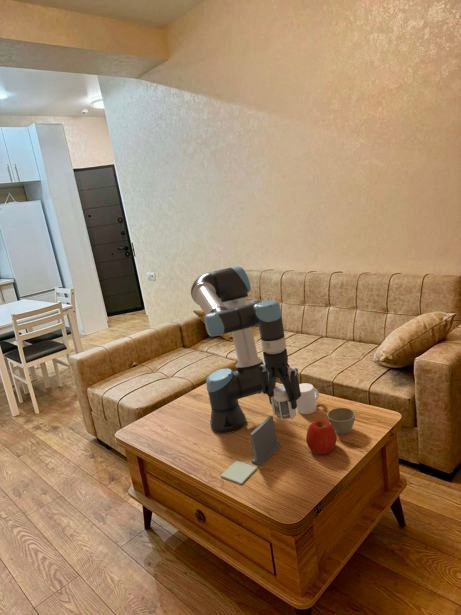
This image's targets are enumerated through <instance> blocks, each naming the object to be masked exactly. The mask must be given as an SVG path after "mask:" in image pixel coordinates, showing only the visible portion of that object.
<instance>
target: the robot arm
mask: <svg viewBox="0 0 461 615" xmlns="http://www.w3.org/2000/svg"><path fill="white" fill-rule="evenodd" d="M190 288H191V289H190V296H191V298H192V300H193V302H194V303H195V304H196V305H198V306H199V307H200V309H201V310H202V312H203V313H204V314H205V316H204V318H203V319H204V325H205V329H206V333H207V334H208V335H209V337H216V336H222V335H226V334H230V333H231V336H232V340H233V345H234V348H235V349H234V350H235V352H236V359H237V363H236V364H235V369H236V370H232V369H231V368H228V367H227V368H221V369H217V370H215V371H213V372H211V373H210V374H209V375H208V376H207V378H206V380H205V383H206V390H207V393H208V398H209V404H210V407H211V408H210V409H211V412H210V414H211V415H210V422H209V424H210V428H211V430H212V431H213V432H214V433H217V434H231V433H234V432H237V431H238V430H240V429H242V428H244V426H245V425H246V423H247V419H246V415H245V412H244V411H243V410H242V407H241V406H240V404H239V400H240V399H243V398H247V397H250V396H253V395H258V394H260V395H261V393H263V395H267V396H268V399H269V404H270V405H271V408H272V409H271V410H272V413H273V415H272V416H276V410H275V404H274V398H273V397H274V395H275V394H274V388H275V387H276V386H277V385H276V384H277V379H279V380H280V382H282V385H284V388H285V390H286V392H287V395H288V397H289V400H288V407H289V414H290V420H293V419H294V418H295V417H297V402H296V400H297V399H299V398H300V397H301V392H300V387H299V384H300V383H299V377H298V373H299V370H298V368H296V367H295V368H292V367H291V366H290V364H289V363H288V362H289V360H288V359H289V357H288V356H289V355H288V350H287V343H286V336H285V330H284V323H283V316H282V313H283V312H282V309H281V306H280V302H278V301H277V300H272V299H271V300H270V299H268V300H263V301H262V300H259V299H253V300H250V301H248V303H247V302H246V301H247V300H248V298H249V295H248V294H249V293H250V292H252V291H251V290H252V288H251V282H250V280H249V276H248V274H247V273H246V270H244V268H243V267H242V266H232V267H228V268H223V269H218V270H214V271H209V272H205V273H203V274H202V275H199V277H197V278H196V279H195V281H193V283H192V285H191V287H190ZM253 327H258V330H259V331H258V332H259V337H260V342H261V348H262V351H263V352H262V355H263V359H262V358H261V357H259V355H258V351H257V348H256V341H255V337H254V333H253V329H252V328H253ZM263 361H264V362H263Z"/></svg>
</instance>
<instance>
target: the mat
mask: <svg viewBox="0 0 461 615" xmlns="http://www.w3.org/2000/svg"><path fill="white" fill-rule="evenodd" d="M257 469H258V467H257V466H254V465H251V464H248V463H245V462H242V461H238V460H235V462H233V463H232V464H231V465H230V466H229V467H228V468H227V469H226V470H225V471H224V472H223V473H222V474H221V475H220V477H221V478H222V479H226V480H229V481H231V482H233V483H236V484H239V485H243V484H244V483H245V482H246V481H247V480H248V479H249V478H250V477H251V476H252V475H253V473H255V471H256V470H257Z"/></svg>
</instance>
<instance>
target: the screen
mask: <svg viewBox="0 0 461 615" xmlns="http://www.w3.org/2000/svg"><path fill="white" fill-rule="evenodd" d="M274 420H275V419H274V415H269V416H268V417H267V418H266V419H265V420H264V421H263V422H261V423H260V424H259V425H258V426H257V427H256V428H254V430H252V431H251V433H250V434H249V435H250V442H251V448H252V454H253V458H252V460H251V463H252V464H254V465H258V466H263V465H264V464H265V463H266V461H267V460H268V459H270V457H271V456H272V455H273V454H274V453H275V452H276V451H277V450H278V449H279V448H280V447H281V443H280V442H278V439H277V433H276V426H275V421H274Z"/></svg>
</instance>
